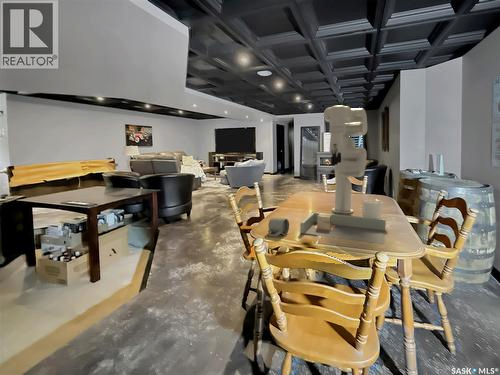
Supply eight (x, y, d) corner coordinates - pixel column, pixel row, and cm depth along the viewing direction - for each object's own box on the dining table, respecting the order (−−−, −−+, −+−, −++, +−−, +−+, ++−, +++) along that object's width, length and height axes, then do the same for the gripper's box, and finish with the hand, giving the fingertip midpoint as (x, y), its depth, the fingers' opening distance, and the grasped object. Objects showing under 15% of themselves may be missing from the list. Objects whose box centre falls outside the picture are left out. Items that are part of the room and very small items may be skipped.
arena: (312, 221, 152) (312, 212, 151) (385, 230, 135) (385, 219, 135) (300, 233, 133) (300, 222, 132) (383, 245, 116) (384, 232, 115)
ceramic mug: (274, 229, 139) (274, 214, 138) (289, 232, 135) (289, 217, 133) (264, 236, 131) (263, 220, 129) (279, 239, 126) (279, 222, 125)
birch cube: (319, 224, 144) (320, 213, 144) (331, 225, 142) (332, 214, 141) (317, 227, 139) (317, 216, 138) (329, 229, 136) (329, 217, 136)
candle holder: (380, 221, 150) (381, 200, 148) (382, 226, 141) (383, 203, 139) (360, 220, 154) (361, 199, 152) (361, 225, 144) (362, 202, 143)
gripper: (333, 130, 153) (332, 161, 156) (326, 130, 138) (325, 165, 141) (347, 130, 149) (346, 162, 152) (341, 130, 134) (340, 165, 137)
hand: (336, 163), depth 147 cm, fingers open, 9 cm apart
